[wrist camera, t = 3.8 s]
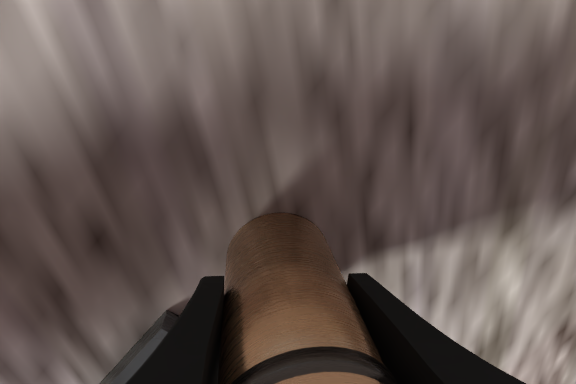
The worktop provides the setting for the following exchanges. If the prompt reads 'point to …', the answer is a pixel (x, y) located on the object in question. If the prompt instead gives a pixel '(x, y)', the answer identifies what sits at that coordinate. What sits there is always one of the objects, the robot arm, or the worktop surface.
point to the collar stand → (141, 350)
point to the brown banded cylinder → (291, 311)
